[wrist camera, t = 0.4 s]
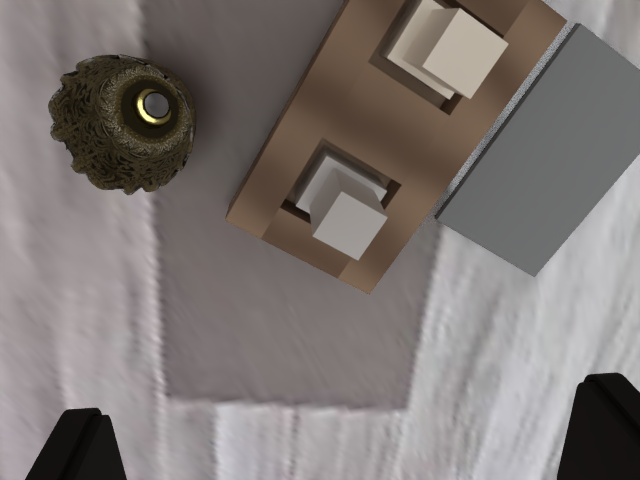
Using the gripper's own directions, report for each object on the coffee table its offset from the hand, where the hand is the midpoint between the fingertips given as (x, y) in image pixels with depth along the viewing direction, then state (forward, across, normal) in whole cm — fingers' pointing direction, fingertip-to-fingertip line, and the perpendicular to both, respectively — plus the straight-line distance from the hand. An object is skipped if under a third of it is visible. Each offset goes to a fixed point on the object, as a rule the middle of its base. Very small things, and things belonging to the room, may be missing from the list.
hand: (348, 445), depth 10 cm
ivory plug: (+27, -8, -6) cm, 29 cm away
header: (+28, -5, -1) cm, 28 cm away
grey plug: (+27, -2, +3) cm, 28 cm away
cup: (+28, +10, -3) cm, 30 cm away
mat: (+28, -18, +2) cm, 33 cm away
